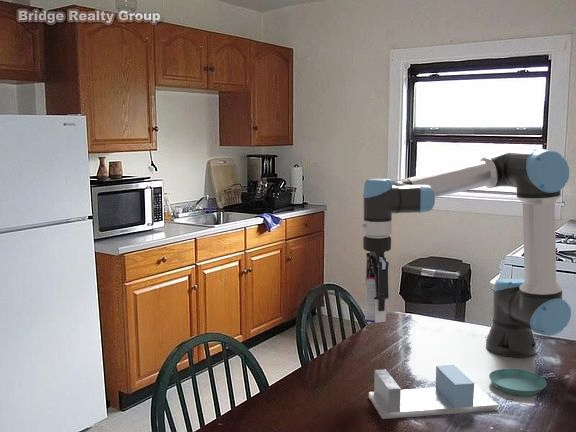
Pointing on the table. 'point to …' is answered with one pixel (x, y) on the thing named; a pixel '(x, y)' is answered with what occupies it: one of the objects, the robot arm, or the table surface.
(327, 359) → the table surface
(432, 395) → the base
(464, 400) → the block
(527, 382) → the saucer
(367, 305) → the supplement box
